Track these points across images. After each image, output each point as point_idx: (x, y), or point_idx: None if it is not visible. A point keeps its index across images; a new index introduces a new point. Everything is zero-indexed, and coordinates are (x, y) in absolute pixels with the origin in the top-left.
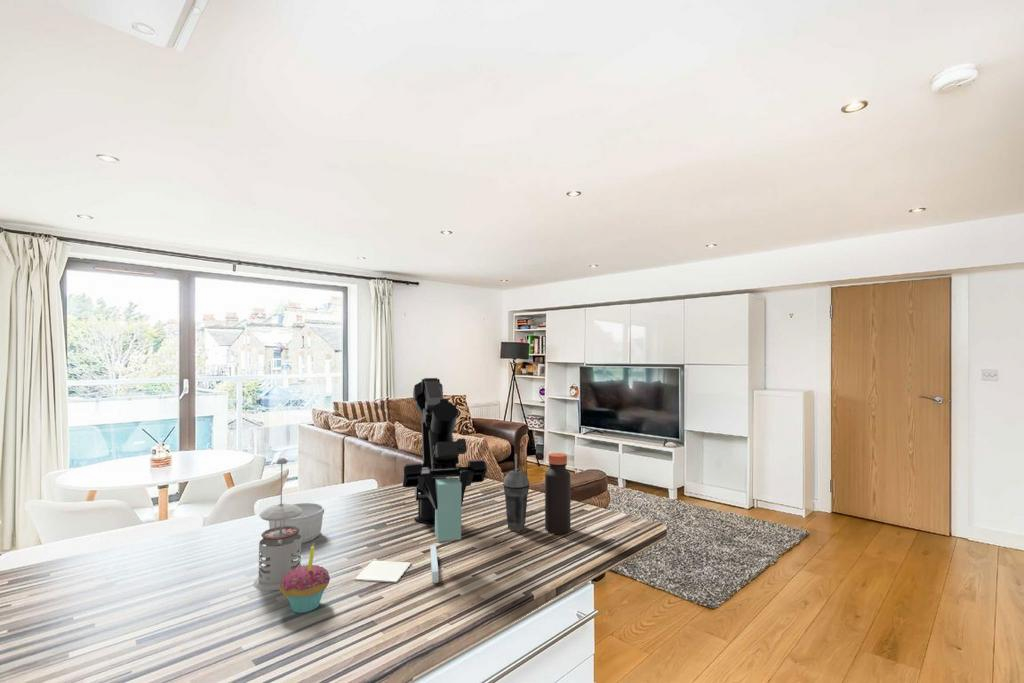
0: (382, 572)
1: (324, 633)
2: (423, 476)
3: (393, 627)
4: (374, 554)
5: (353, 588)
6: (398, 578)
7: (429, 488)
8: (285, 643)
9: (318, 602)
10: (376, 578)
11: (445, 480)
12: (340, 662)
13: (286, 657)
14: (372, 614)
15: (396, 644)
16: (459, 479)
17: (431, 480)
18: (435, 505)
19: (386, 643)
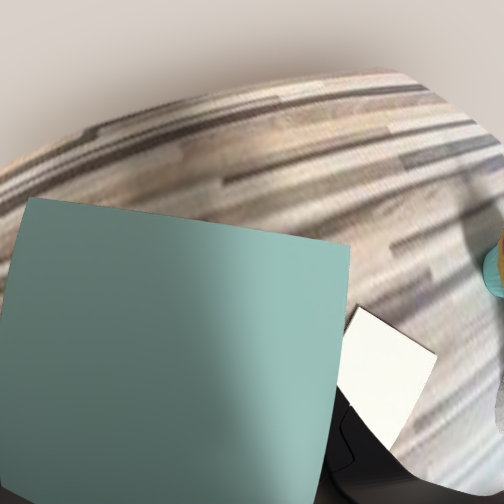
0: (382, 372)
1: (462, 174)
2: (487, 497)
3: (373, 133)
4: None
5: (439, 315)
6: (352, 322)
7: (369, 434)
8: (493, 178)
9: (488, 257)
10: (399, 341)
11: (177, 446)
12: (429, 103)
13: (483, 148)
14: (408, 189)
15: (368, 95)
16: (3, 502)
17: (374, 496)
18: None
19: (381, 104)
